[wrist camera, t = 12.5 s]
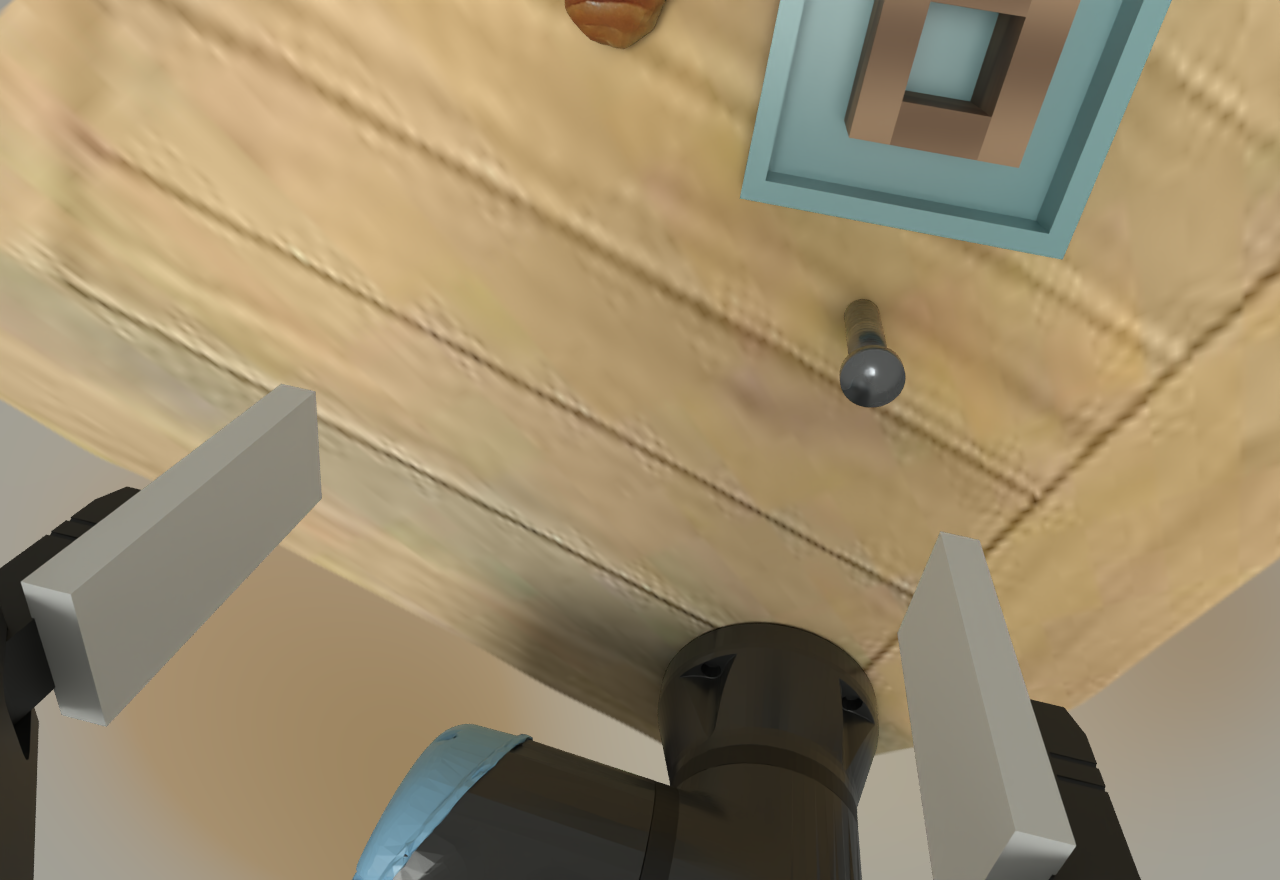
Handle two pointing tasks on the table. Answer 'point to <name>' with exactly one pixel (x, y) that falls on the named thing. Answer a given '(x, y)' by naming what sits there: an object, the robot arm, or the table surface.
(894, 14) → the collar
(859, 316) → the metal bolt
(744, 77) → the table surface
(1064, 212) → the tray
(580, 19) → the pastry
